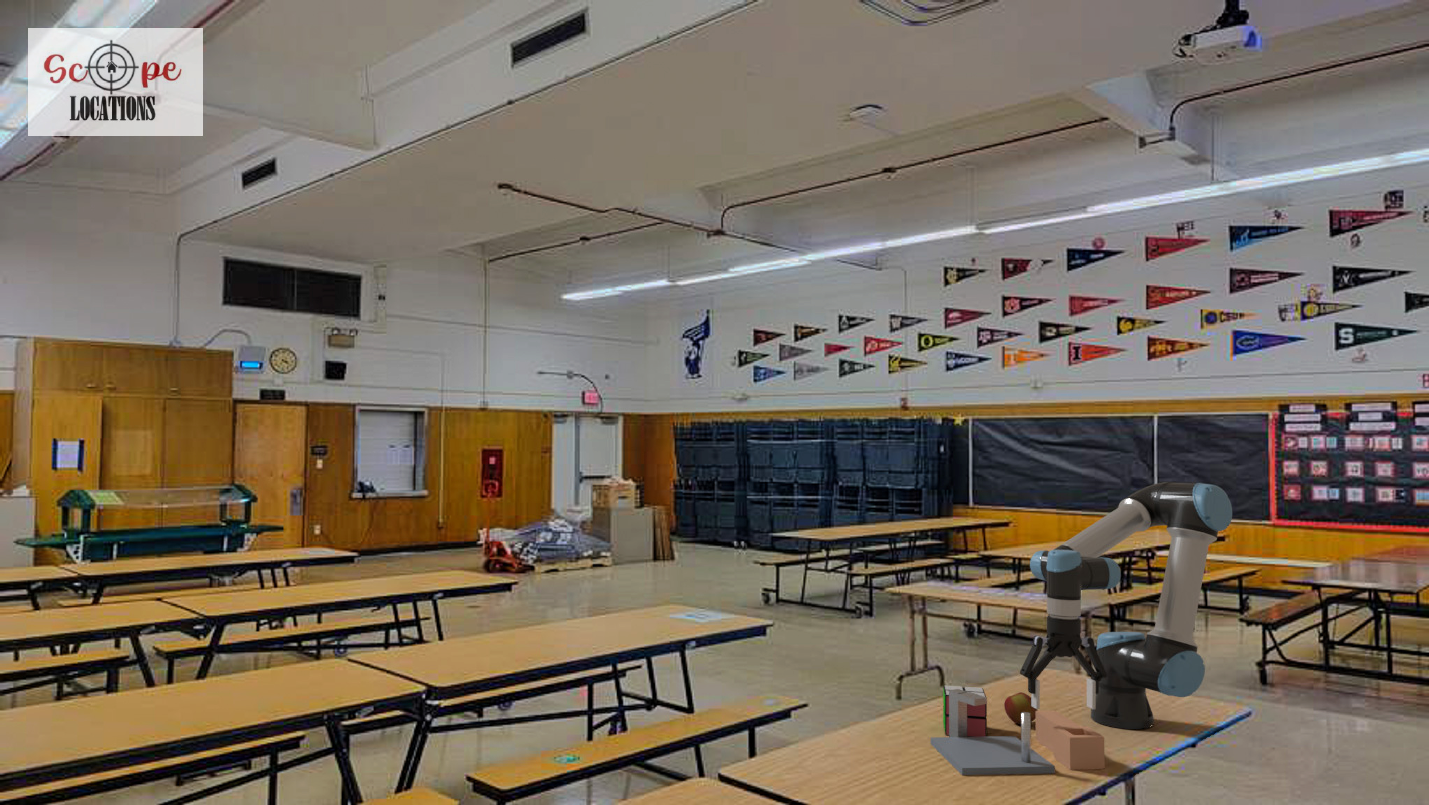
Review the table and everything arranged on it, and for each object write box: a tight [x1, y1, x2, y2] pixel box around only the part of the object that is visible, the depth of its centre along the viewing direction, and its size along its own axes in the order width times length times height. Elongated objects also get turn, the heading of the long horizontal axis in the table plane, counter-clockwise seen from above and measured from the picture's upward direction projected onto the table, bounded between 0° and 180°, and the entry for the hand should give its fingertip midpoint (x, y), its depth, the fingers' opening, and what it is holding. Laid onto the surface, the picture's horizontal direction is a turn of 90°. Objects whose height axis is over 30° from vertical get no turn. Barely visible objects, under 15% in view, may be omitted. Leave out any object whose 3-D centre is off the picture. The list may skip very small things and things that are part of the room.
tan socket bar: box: [1035, 710, 1106, 771], centre depth 211 cm, size 20×8×7 cm, turn 5°
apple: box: [1003, 692, 1038, 725], centre depth 234 cm, size 8×8×8 cm
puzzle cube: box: [942, 684, 988, 737], centre depth 227 cm, size 10×10×10 cm
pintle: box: [1020, 712, 1032, 763], centre depth 201 cm, size 2×2×12 cm
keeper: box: [948, 689, 988, 737], centre depth 217 cm, size 4×9×12 cm, turn 29°
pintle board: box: [930, 735, 1056, 776], centre depth 207 cm, size 21×21×2 cm
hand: (1063, 707), depth 211 cm, fingers open, 13 cm apart
